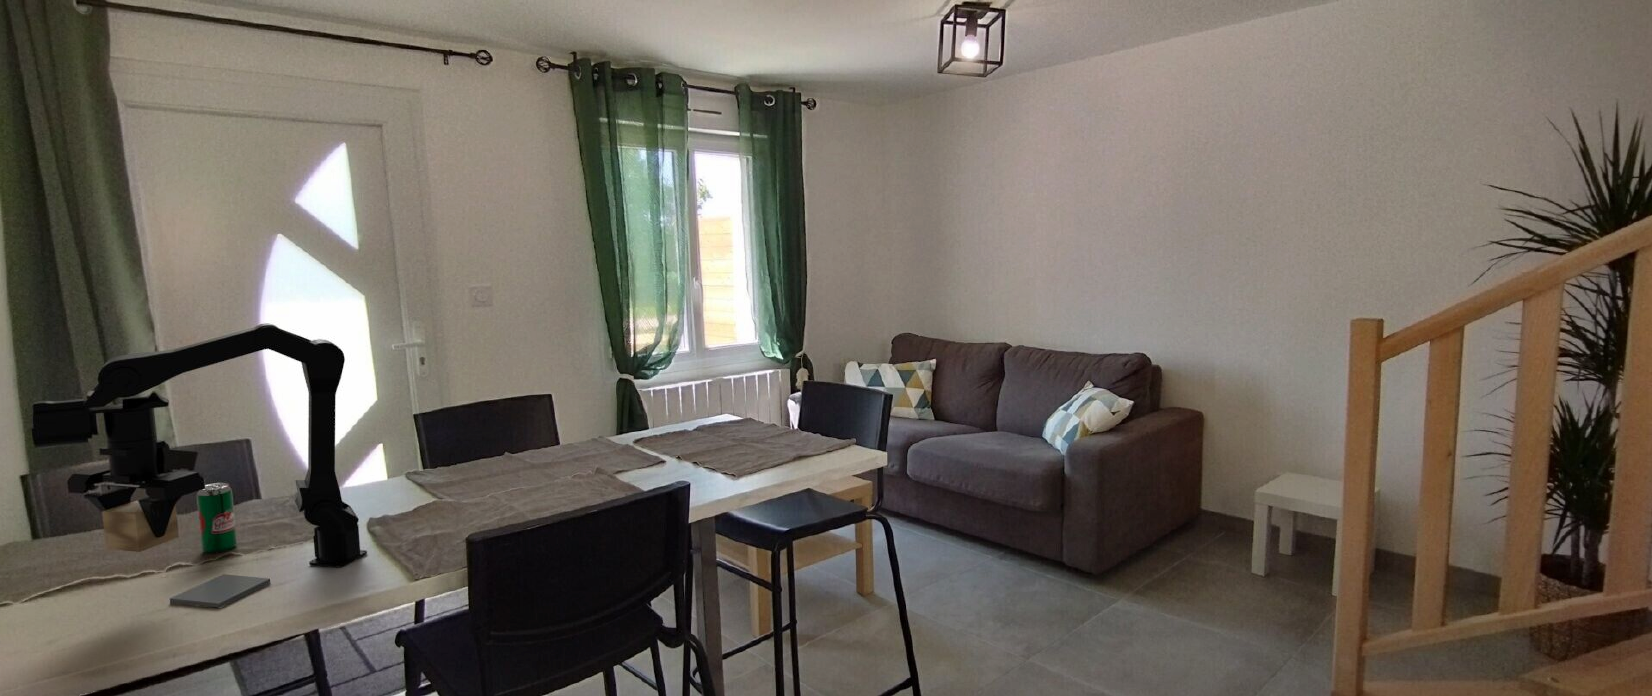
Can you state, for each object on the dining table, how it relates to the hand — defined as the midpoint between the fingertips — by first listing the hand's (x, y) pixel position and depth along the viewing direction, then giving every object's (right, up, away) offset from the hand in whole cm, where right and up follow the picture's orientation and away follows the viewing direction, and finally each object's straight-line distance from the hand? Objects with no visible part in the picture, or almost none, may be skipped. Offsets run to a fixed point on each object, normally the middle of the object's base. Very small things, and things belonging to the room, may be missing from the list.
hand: (143, 535), depth 118 cm
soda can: (-6, -8, +22) cm, 24 cm away
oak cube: (0, -1, 0) cm, 1 cm away
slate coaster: (+9, -11, +4) cm, 14 cm away
